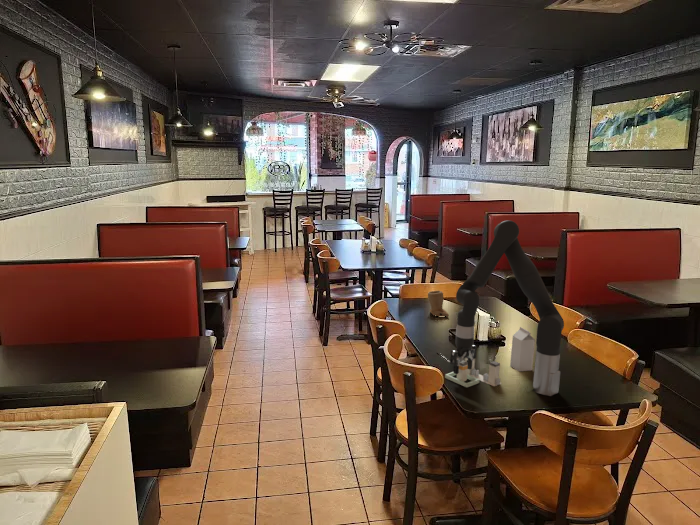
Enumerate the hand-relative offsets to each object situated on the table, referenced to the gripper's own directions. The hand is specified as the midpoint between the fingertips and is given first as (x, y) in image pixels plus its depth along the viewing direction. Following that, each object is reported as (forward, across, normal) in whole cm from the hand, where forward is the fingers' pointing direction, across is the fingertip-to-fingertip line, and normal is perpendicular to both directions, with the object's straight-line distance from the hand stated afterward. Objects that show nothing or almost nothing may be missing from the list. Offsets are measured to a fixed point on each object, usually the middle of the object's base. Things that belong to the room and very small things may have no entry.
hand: (462, 371), depth 219 cm
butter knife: (+6, +14, +18) cm, 24 cm away
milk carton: (+6, +36, -5) cm, 37 cm away
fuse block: (+6, +9, -3) cm, 11 cm away
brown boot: (+6, +67, +76) cm, 102 cm away
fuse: (+5, 0, 0) cm, 5 cm away
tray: (+6, 0, 0) cm, 6 cm away
